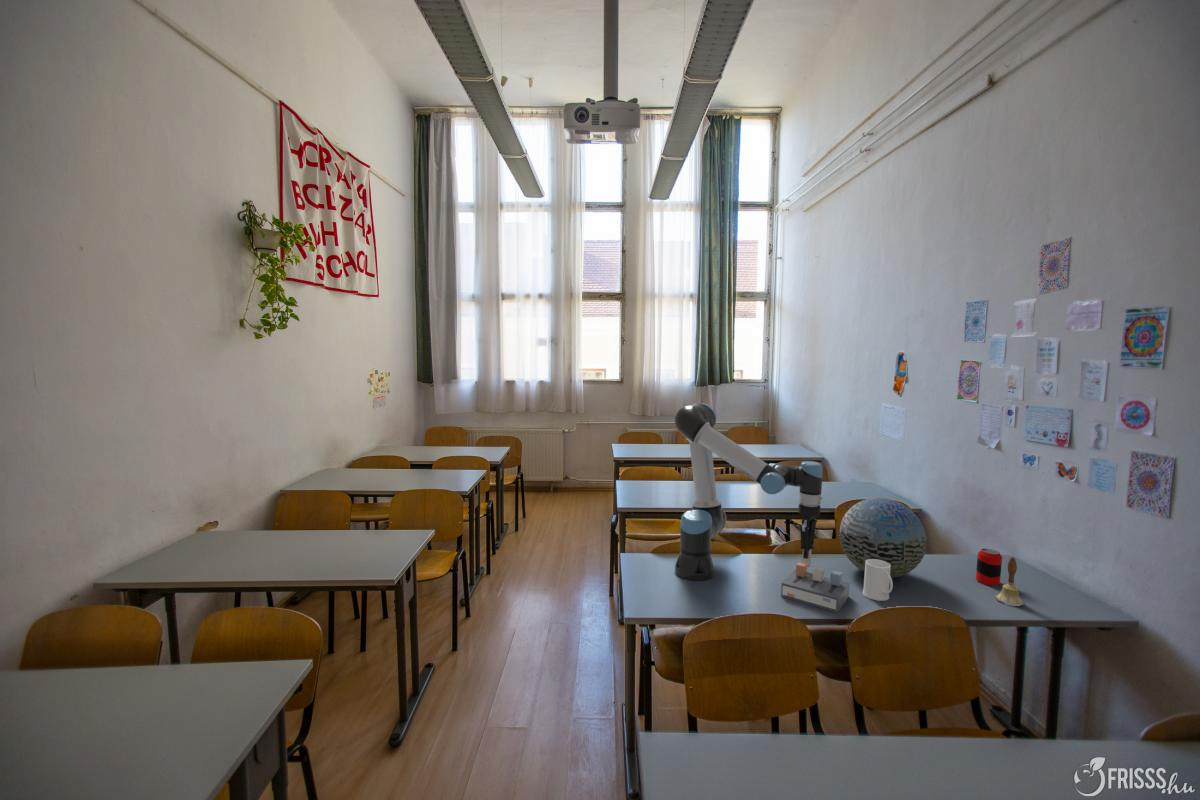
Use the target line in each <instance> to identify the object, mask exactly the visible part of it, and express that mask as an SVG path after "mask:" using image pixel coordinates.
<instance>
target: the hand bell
mask: <svg viewBox="0 0 1200 800" xmlns="http://www.w3.org/2000/svg"><path fill="white" fill-rule="evenodd" d="M1017 568H1018V565H1017V561H1016V558H1015V557H1012V556H1010V558H1009V560H1008V563H1007V572H1008V579H1007V583H1006V584H1003V585H1002V589H1001V590H1000V592H999V593H998V594H997V595H996V596H995V597H997V598H998V599H999V600H1001V601H1004V602H1007V603H1011V604H1023V603H1024V601H1023V600H1022V598H1021V597H1020V593H1019V588H1018V587H1017V586H1016V585H1015V574H1016V572H1017Z"/></svg>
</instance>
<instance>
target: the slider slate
mask: <svg viewBox="0 0 1200 800" xmlns="http://www.w3.org/2000/svg"><path fill="white" fill-rule="evenodd" d="M829 578H830V584H831V585H835V586H840V585H841V582H842V579H843V572H840V571H836V570H832V571H831V572H830V577H829Z"/></svg>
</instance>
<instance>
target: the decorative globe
mask: <svg viewBox="0 0 1200 800" xmlns="http://www.w3.org/2000/svg"><path fill="white" fill-rule="evenodd" d="M839 541H840V545H841V548H842V551H843V553H844V554H845V556H846V558H847V560H849V562H851V563H852V564H853V566H855V567H856V568H857V569H859V570H860V571H861V572H864V573H865V561H866V560H868V559H878V560H883V561H886V562H888V563H889V564H890V565H891V569H890V576H891V579H893V578H899V577H902V576H906V575H907V574H909V573H910V572H912V571H913V570H914V569H916V568H917V567H918V565H919V564H920V563H921V562H922V560H923V559H924V557H925V553H926V550H927V534H926V530H925V528H924V525H923V523H922V522H921V520H920V518H919V516H917V514H916V513H915V512H913V510H912V509H910V508H909V507H907V506H906V505H904V504H903V503H901V502H899V501H897V500H894V499H889V498H884V497H871V498H867V499H863V500H861V501H859V502H857V503H855V504H854V505H853V506H851V507H850V508H849V509H848V510H847V511H846V512H845V514H844V515H843V517H842V519H841V522H840V526H839Z"/></svg>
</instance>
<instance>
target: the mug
mask: <svg viewBox="0 0 1200 800" xmlns="http://www.w3.org/2000/svg"><path fill="white" fill-rule="evenodd" d="M890 569H891V565H890V564H889V563H888V562H886V561H883V560H878V559H868V560H866V561H865V572H864V578H863V590H862V595H863V596H865V597H866V598H868V599H870V600H874V601H879V602H882V601H883V602H885V601H888V600H889V599H890V593H891V592H892V591H893V587H894V586H893V585H894V583H893V578H891V576H890Z"/></svg>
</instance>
